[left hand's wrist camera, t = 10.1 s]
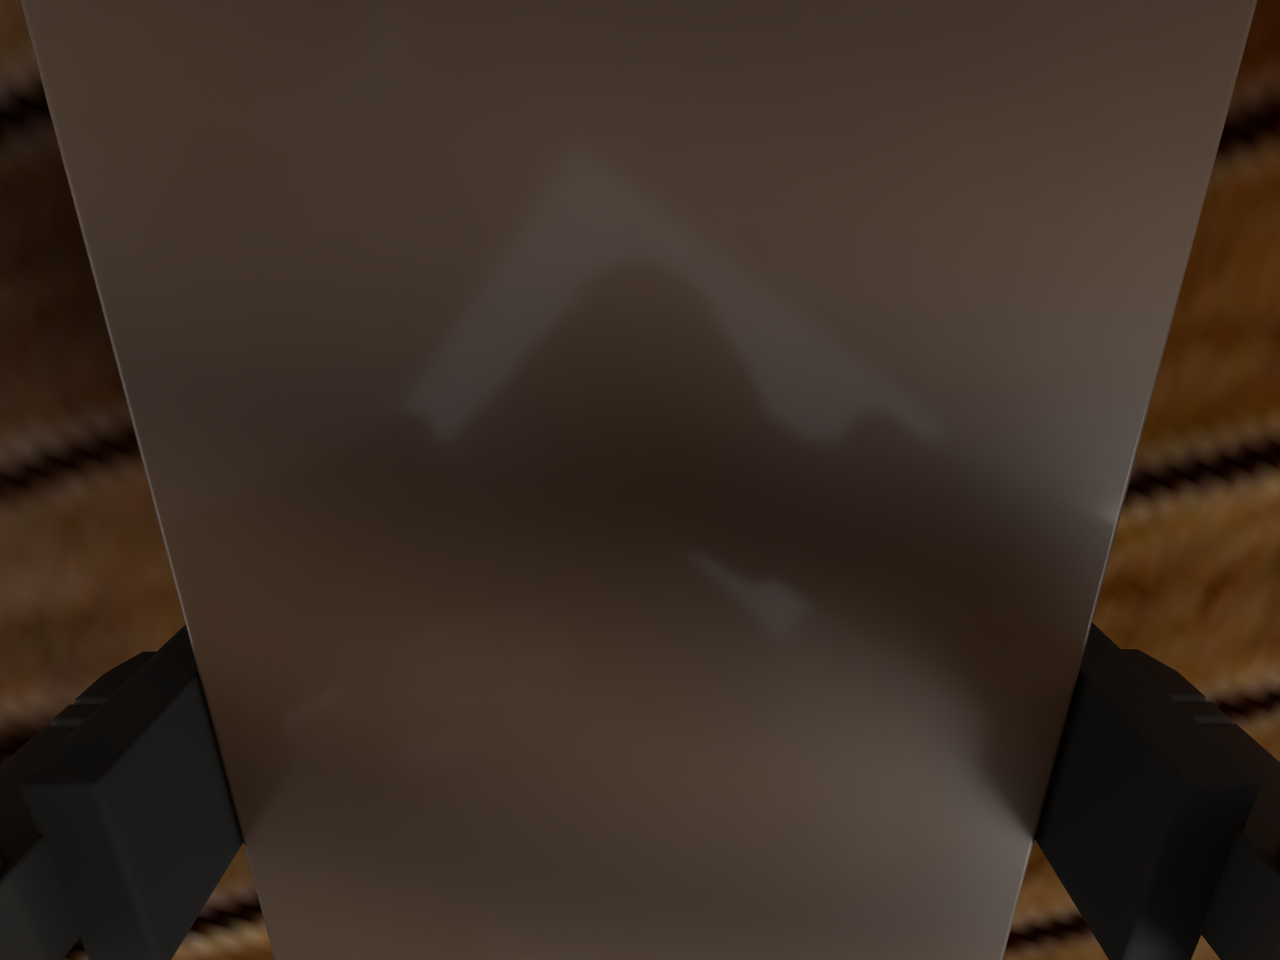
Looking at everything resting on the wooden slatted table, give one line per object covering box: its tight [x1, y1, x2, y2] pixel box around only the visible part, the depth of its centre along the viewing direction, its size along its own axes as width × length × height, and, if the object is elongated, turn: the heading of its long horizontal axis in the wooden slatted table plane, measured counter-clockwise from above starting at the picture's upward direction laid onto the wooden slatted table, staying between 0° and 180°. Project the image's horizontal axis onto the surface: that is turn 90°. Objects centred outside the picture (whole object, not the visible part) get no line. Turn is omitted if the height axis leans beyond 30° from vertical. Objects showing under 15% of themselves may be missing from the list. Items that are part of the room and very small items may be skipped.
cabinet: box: [20, 0, 1257, 960], centre depth 13 cm, size 18×10×12 cm, turn 0°
